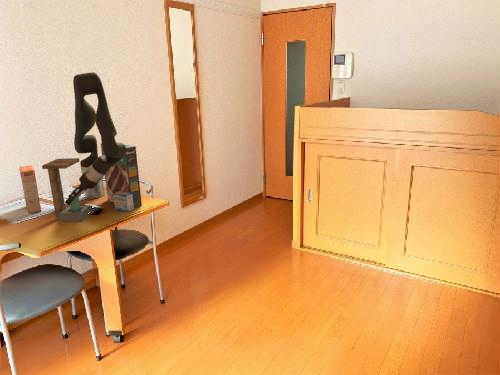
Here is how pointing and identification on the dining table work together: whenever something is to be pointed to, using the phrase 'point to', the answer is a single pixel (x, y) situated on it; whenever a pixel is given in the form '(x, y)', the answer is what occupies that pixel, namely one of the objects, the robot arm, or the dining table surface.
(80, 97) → the robot arm
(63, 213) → the socket block
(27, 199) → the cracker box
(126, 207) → the medicine box
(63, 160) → the wooden pedestal stand
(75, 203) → the peg
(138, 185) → the cake mix box
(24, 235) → the dining table surface
